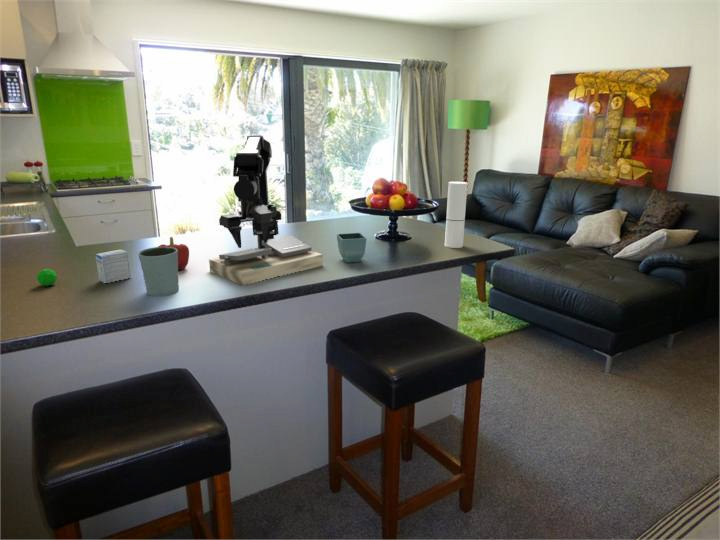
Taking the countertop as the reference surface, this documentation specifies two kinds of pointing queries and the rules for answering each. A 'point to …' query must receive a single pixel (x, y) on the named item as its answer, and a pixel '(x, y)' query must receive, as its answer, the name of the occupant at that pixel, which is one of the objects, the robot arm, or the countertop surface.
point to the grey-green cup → (160, 270)
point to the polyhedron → (46, 277)
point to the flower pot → (351, 246)
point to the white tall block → (455, 214)
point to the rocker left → (246, 254)
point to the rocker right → (287, 246)
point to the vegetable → (180, 253)
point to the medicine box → (113, 266)
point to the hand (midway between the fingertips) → (252, 245)
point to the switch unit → (264, 266)
